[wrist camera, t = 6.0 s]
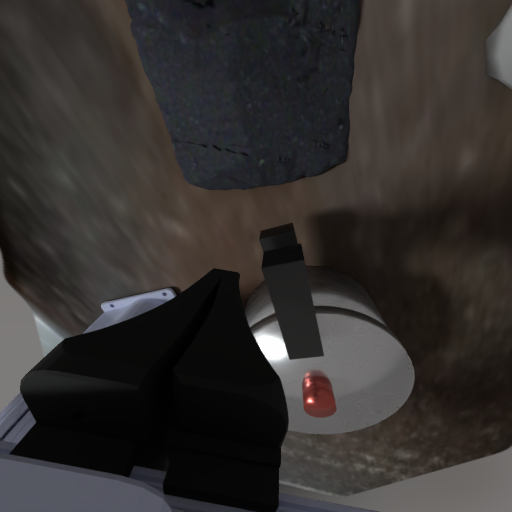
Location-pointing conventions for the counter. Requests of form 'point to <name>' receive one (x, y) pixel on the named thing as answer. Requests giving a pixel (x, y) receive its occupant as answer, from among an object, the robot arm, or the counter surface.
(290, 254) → the lid
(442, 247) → the counter surface
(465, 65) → the counter surface
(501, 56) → the salt shaker
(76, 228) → the counter surface
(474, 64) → the counter surface
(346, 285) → the pot
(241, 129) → the dark slate chunk
